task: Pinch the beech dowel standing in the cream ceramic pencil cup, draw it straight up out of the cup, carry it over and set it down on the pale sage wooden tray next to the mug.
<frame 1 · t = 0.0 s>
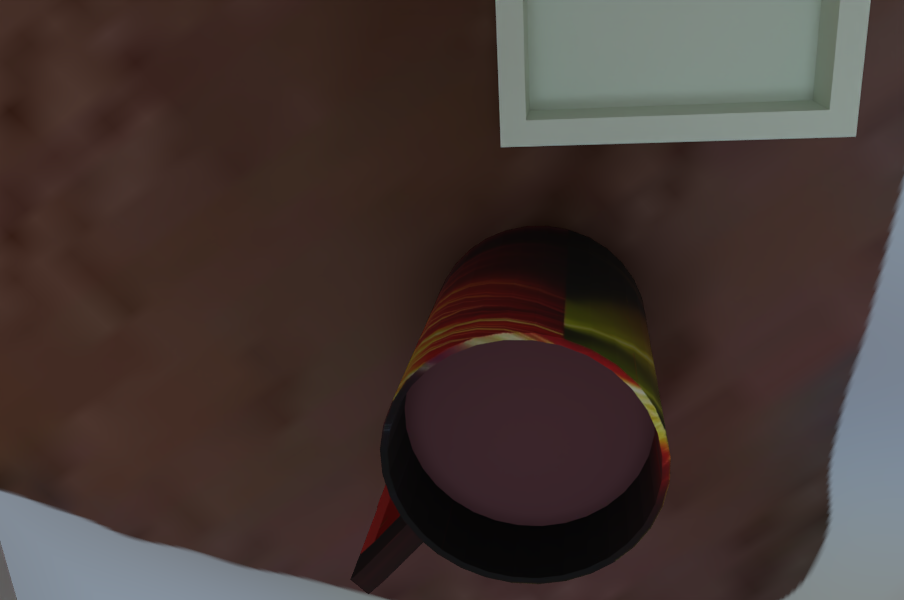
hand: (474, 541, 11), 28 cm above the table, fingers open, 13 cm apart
mug: (526, 363, 41), on the table
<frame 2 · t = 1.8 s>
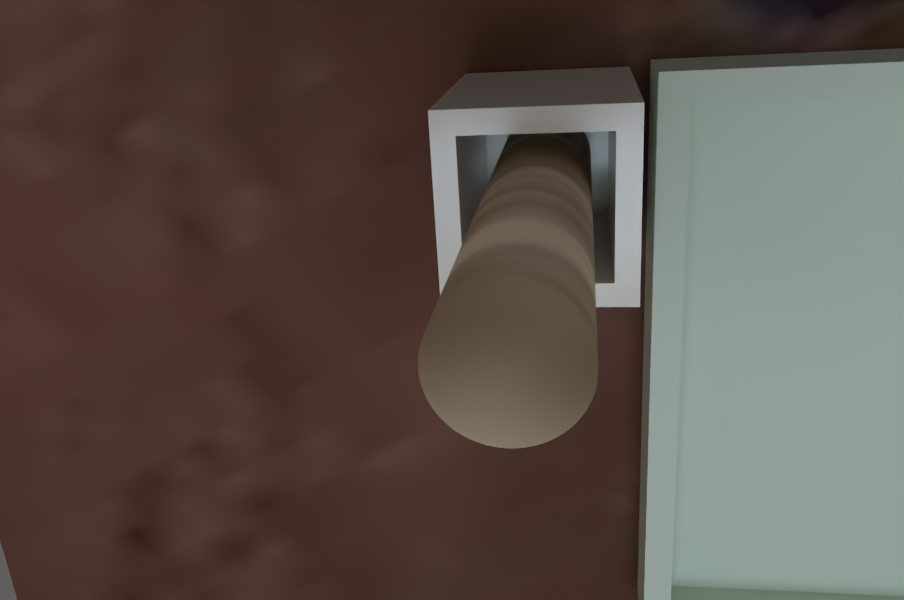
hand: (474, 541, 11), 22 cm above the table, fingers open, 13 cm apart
dowel: (546, 155, 30), point 1 cm above the table, touching cup
cup: (547, 150, 31), on the table
tray: (821, 356, 32), on the table
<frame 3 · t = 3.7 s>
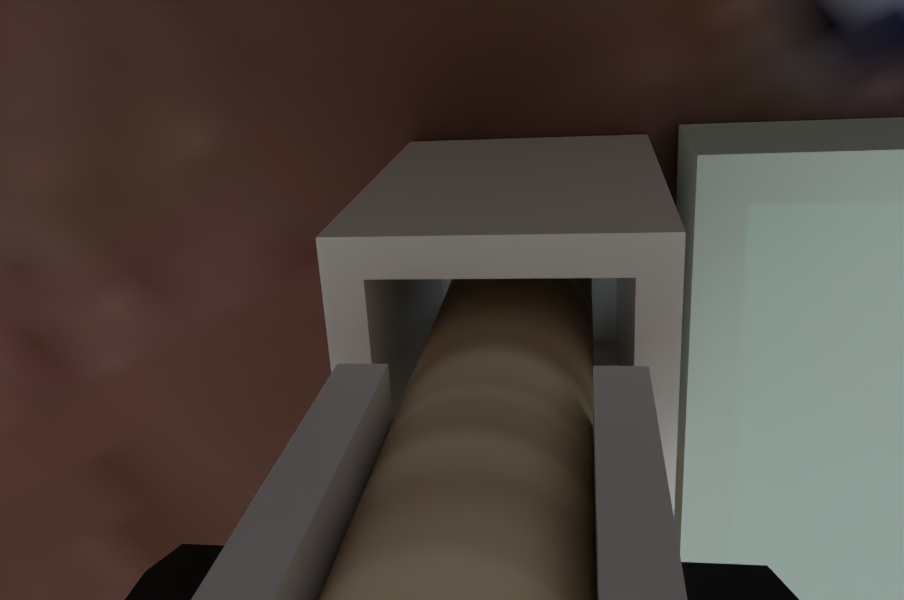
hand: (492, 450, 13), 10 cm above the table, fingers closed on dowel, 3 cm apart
dowel: (527, 260, 21), point 1 cm above the table, touching cup, gripper
cup: (529, 250, 21), on the table
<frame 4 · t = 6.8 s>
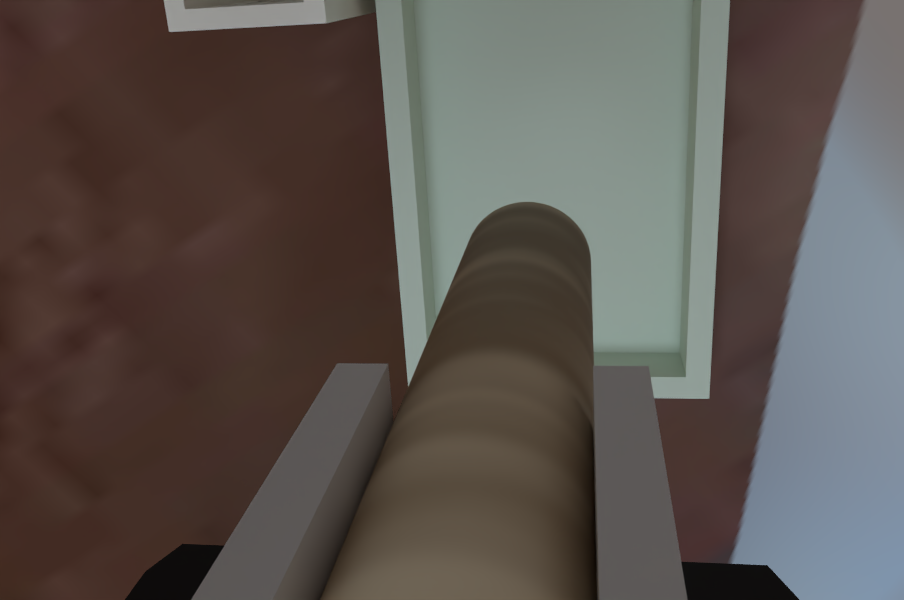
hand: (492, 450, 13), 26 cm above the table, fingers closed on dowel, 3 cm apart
dowel: (527, 262, 21), point 18 cm above the table, touching gripper
tray: (553, 129, 37), on the table
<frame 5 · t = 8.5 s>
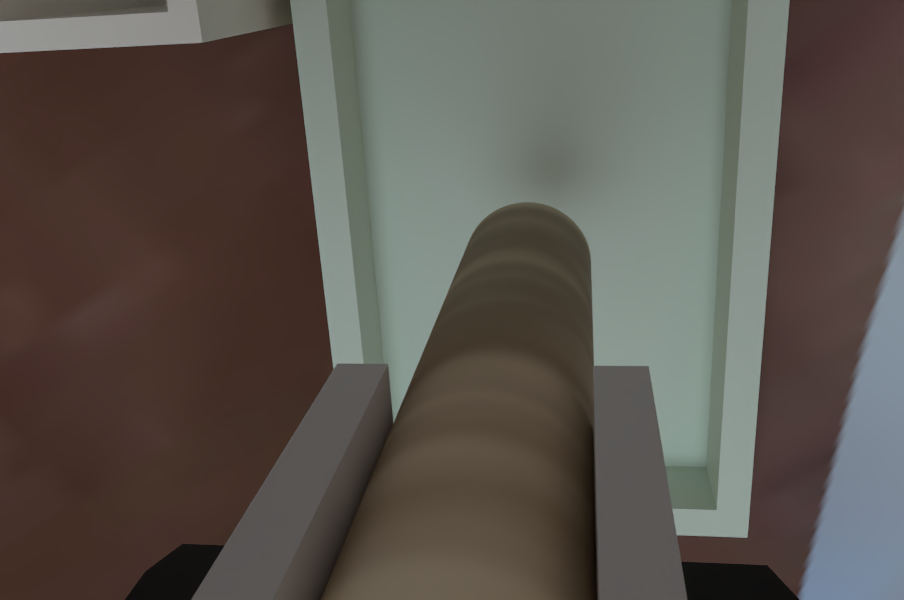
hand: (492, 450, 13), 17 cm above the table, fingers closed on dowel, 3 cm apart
dowel: (527, 263, 21), point 8 cm above the table, touching gripper
tray: (540, 178, 28), on the table
when the fingers open (10 cm above the table, at t = 9.9 s): dowel stays where it is, resting on tray.
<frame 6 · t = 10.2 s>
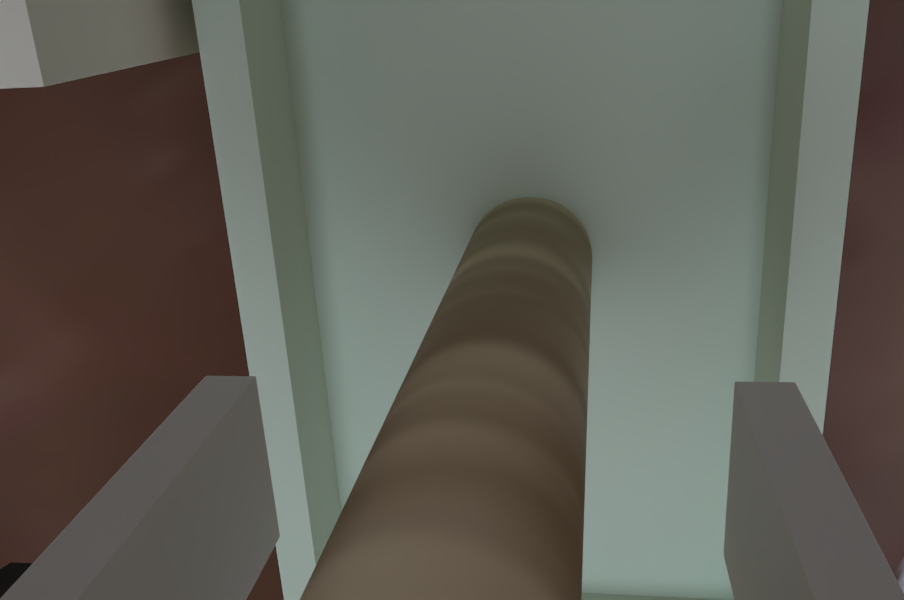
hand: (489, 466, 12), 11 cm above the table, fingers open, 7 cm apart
dowel: (529, 257, 21), point 1 cm above the table, touching tray
tray: (530, 243, 22), on the table
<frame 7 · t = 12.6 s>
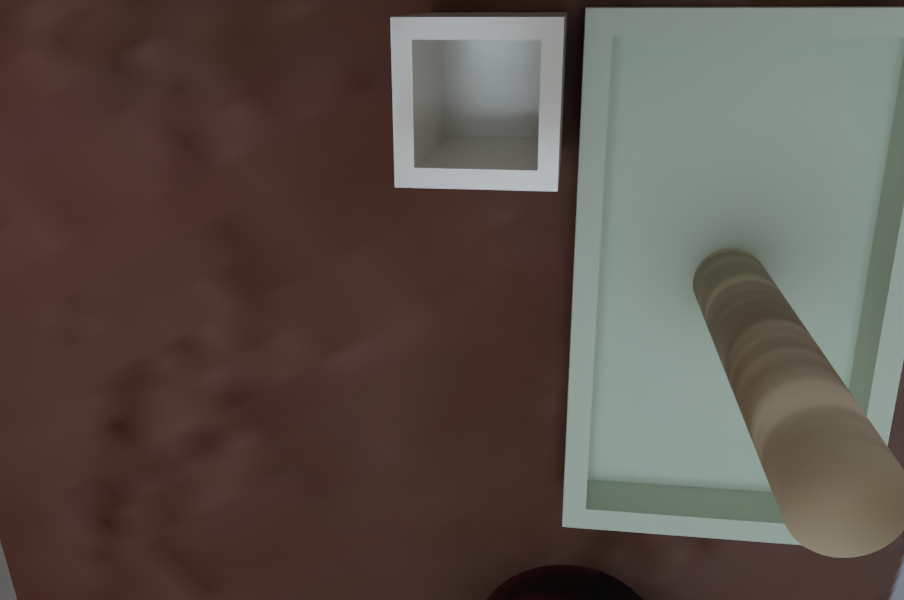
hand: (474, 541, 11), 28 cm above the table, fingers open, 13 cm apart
dowel: (729, 282, 36), point 1 cm above the table, touching tray
cup: (497, 83, 36), on the table
tray: (724, 274, 37), on the table
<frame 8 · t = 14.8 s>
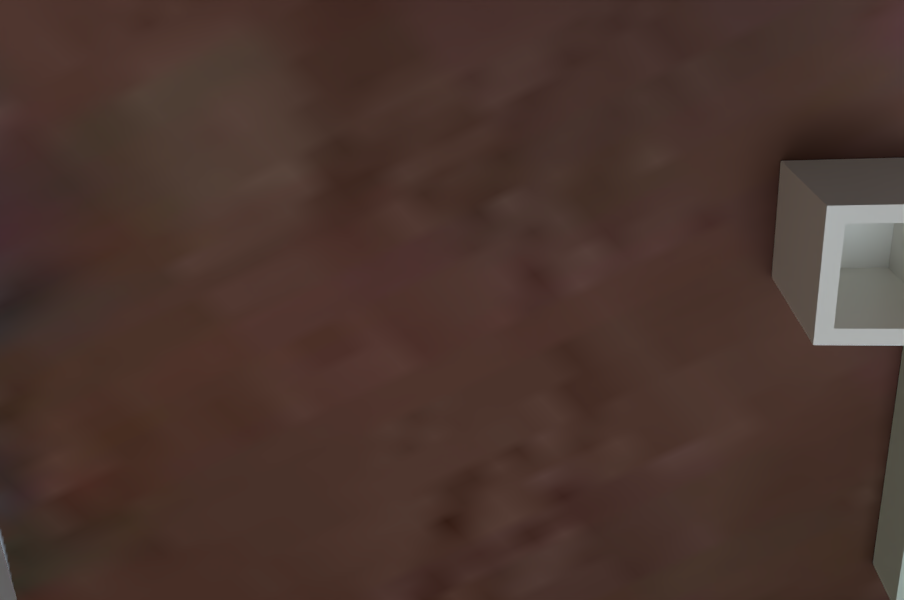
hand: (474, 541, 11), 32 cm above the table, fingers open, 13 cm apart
cup: (839, 219, 40), on the table
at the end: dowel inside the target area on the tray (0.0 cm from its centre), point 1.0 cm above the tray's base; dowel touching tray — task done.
